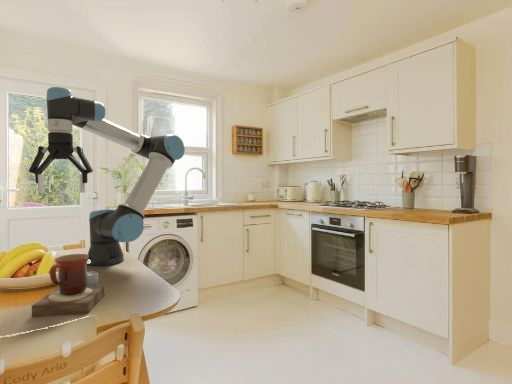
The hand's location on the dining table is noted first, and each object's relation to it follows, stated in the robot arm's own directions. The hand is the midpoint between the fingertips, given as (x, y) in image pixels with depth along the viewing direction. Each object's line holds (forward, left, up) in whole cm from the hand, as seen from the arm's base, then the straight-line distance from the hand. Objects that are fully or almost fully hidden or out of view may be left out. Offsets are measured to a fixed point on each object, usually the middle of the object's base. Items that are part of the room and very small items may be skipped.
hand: (62, 192), depth 116 cm
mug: (+25, +12, -28) cm, 40 cm away
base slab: (+25, +12, -32) cm, 42 cm away
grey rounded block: (+7, +10, -32) cm, 34 cm away
